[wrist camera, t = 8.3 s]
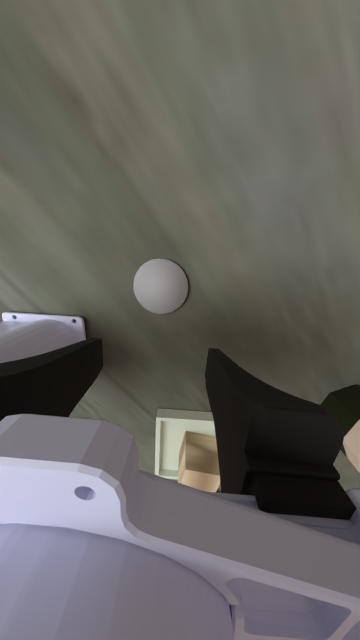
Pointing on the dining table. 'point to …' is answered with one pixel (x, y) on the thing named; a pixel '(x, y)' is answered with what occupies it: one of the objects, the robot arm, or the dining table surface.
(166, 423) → the tray
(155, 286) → the pad
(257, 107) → the dining table surface
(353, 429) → the wine bottle
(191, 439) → the block
